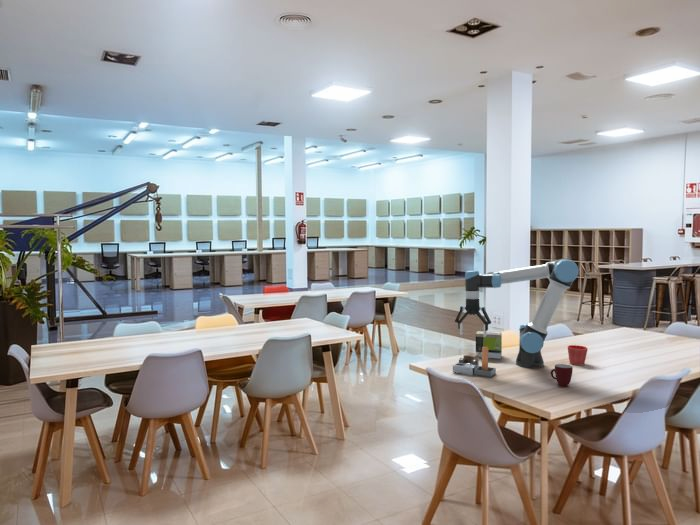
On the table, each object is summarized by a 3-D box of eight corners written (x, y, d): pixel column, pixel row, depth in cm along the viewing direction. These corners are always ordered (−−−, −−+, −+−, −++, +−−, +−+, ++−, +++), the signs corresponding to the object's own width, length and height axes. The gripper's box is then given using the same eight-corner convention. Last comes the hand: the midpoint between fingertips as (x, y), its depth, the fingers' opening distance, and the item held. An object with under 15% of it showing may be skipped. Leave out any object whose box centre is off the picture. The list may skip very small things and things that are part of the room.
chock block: (478, 365, 295) (478, 353, 295) (473, 369, 288) (474, 356, 288) (467, 364, 298) (468, 352, 298) (463, 367, 291) (463, 355, 291)
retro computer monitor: (501, 355, 320) (502, 331, 319) (500, 359, 311) (501, 334, 310) (476, 353, 325) (477, 330, 324) (475, 357, 315) (475, 333, 315)
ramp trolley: (479, 370, 286) (480, 359, 285) (472, 375, 274) (472, 364, 274) (460, 367, 291) (460, 356, 291) (452, 372, 280) (452, 361, 280)
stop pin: (488, 373, 277) (489, 347, 276) (486, 374, 274) (487, 348, 273) (482, 372, 279) (483, 346, 278) (481, 373, 276) (481, 347, 275)
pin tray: (495, 373, 278) (495, 368, 278) (491, 377, 270) (491, 371, 270) (479, 371, 283) (479, 365, 283) (474, 375, 275) (474, 369, 275)
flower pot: (587, 362, 303) (587, 345, 303) (587, 366, 293) (587, 349, 293) (567, 360, 308) (567, 344, 307) (566, 364, 298) (567, 348, 297)
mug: (546, 385, 257) (547, 365, 256) (553, 381, 263) (553, 362, 262) (568, 389, 250) (569, 368, 249) (574, 385, 256) (575, 365, 255)
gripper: (496, 298, 289) (497, 336, 290) (453, 296, 301) (454, 333, 302) (492, 299, 282) (493, 338, 283) (448, 298, 295) (449, 335, 296)
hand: (473, 335), depth 293 cm, fingers open, 13 cm apart
